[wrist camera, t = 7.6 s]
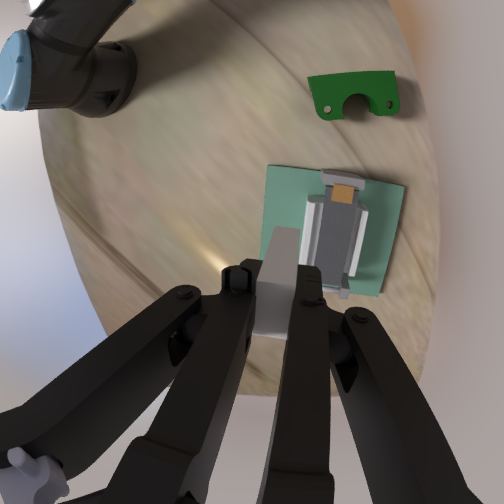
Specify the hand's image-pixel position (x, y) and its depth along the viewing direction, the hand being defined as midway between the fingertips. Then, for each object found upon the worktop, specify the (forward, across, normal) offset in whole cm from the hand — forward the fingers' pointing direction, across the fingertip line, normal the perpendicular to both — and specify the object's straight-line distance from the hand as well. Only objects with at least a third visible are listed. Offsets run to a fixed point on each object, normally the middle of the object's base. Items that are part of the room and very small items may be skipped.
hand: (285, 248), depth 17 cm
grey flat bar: (+18, +5, -5) cm, 19 cm away
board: (+24, +6, -7) cm, 25 cm away
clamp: (+25, +7, +14) cm, 29 cm away
